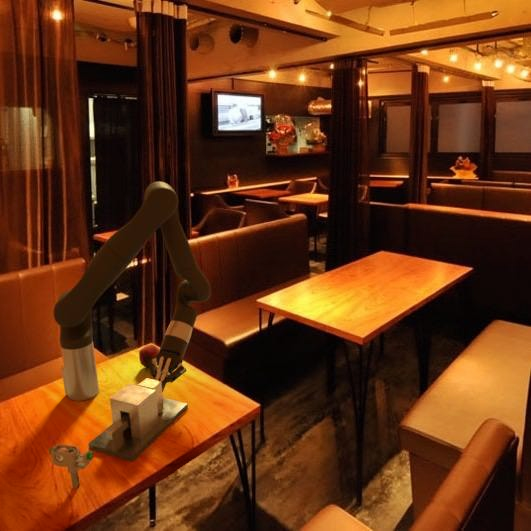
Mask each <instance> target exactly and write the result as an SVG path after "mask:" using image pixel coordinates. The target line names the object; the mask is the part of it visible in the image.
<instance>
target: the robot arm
mask: <svg viewBox="0 0 531 531" xmlns="http://www.w3.org/2000/svg"><path fill="white" fill-rule="evenodd" d="M143 196H144V197H143V198H144V200H143V201H144V202H143V203H142V205H141V207H139V209H138V211H137V212H136V213H135V215H134V216H133V217H132V218H131V219H130V221H128V222H127V223H126V224H125V225H124V226H122V227H120V228H119V229H118V230H116V231H115V232H114V233H113V234H112V235H111V236H110V237H108V239H107V240H106V241H105V242H104V244H103V245H102V246H101V247H100V249H98V251H97V252H96V254H95V255H94V257H93V258H92V260H90V263H89V264H88V265H87V268H86V270H85V271H84V272H83V275H82V276H81V278H80V279H79V280H78V282H77V283H76V284H75V285H74V286H73V287H72V288H71V289H70V290H67V291H65V292H63V293H62V294H61V295H60V296H59V297H58V299H57V301H56V302H55V304H54V307H53V319H54V321H55V323H56V324H57V325H59V326H60V327H59V328H60V330H59V333H60V334H59V344H60V349H61V351H60V352H61V355H62V364H63V366H62V367H61V372H62V380H63V381H62V382H63V386H64V394H65V396H68V399H70V400H71V401H75V402H77V401H78V402H79V401H85V400H89V399H92V398H94V397H95V396H97V395H98V393H99V391H100V386H99V380H98V371H97V364H96V355H95V348H94V341H93V340H94V339H93V319H92V311H91V309H93V307H94V305H95V303H97V302H98V300H99V298H100V297H101V296H102V295H103V294H104V292H106V290H107V289H109V287H110V286H112V285H113V284H114V282H115V281H116V280H117V279H118V278H120V276H121V275H122V274H123V273H124V271H125V270H126V269H127V268H128V267H129V266H130V264H132V262H133V260H134V259H135V258H136V257H137V255H138V254H139V252H141V250H142V249H143V248H144V247H145V245H146V244H147V242H148V241H149V240H150V238H151V237H152V236H153V235H154V233H155V232H157V230H159V229H160V231H161V233H162V236H163V239H164V243H165V245H166V249H167V252H168V256H169V258H170V261H171V264H172V266H173V270H174V272H175V275H176V276H177V277H178V278H180V279H184V280H183V281H181V282H180V283H179V285H178V288H177V290H176V301H175V310H174V312H173V315H172V318H171V320H170V323H169V325H168V327H167V329H166V331H165V332H164V336H163V339H162V342H161V344H160V347H159V349H160V352H159V353H158V354H157V356H156V358H154V359H152V360H151V359H149V360H148V365H149V369H148V370H149V372H150V376H151V377H152V379H154V380H158V381H161V383H162V394H163V393H164V390H165V387H166V385H167V383H171V384H172V383H174V382H175V381H176V380H178V378H180V377H181V376H182V375H183V374H185V373H186V372H187V368H186V367H185V366H184V365H183V358H184V356H185V354H186V351H187V348H188V346H189V342H190V340H191V337H192V333H193V329H194V326H195V323H196V320H197V318H198V311H197V309H195V308H194V307H192V306H191V302H194V303H205V302H208V301H209V299H210V297H211V293H212V288H211V284H210V282H209V280H208V279H207V277H206V275H205V274H204V272H203V271H202V270H201V268H200V267H199V266H198V264H197V262H196V257H195V255H194V252H193V250H192V247H191V244H190V242H189V240H188V239H187V236H186V234H185V231H184V228H183V227H182V223H181V221H180V219H179V215H178V211H177V209H178V206H179V197H178V195H177V193H176V191H175V190H174V188H173V187H172V186H171V185H170V184H168V183H166V182H164V181H154V182H152V183H150V184H149V185H148V186H147V187H146V189H145V191H144V195H143ZM157 364H158V366H157Z"/></svg>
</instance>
